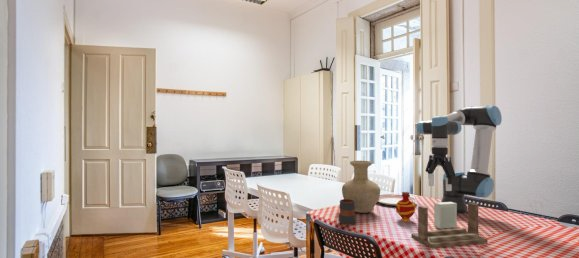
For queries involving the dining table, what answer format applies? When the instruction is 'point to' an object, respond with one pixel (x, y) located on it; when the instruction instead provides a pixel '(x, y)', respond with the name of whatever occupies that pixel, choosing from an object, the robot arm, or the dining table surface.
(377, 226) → the dining table surface
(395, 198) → the dinner plate
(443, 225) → the cream rectangular block
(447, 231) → the wooden rack
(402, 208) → the potion bottle
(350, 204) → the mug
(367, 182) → the vase
